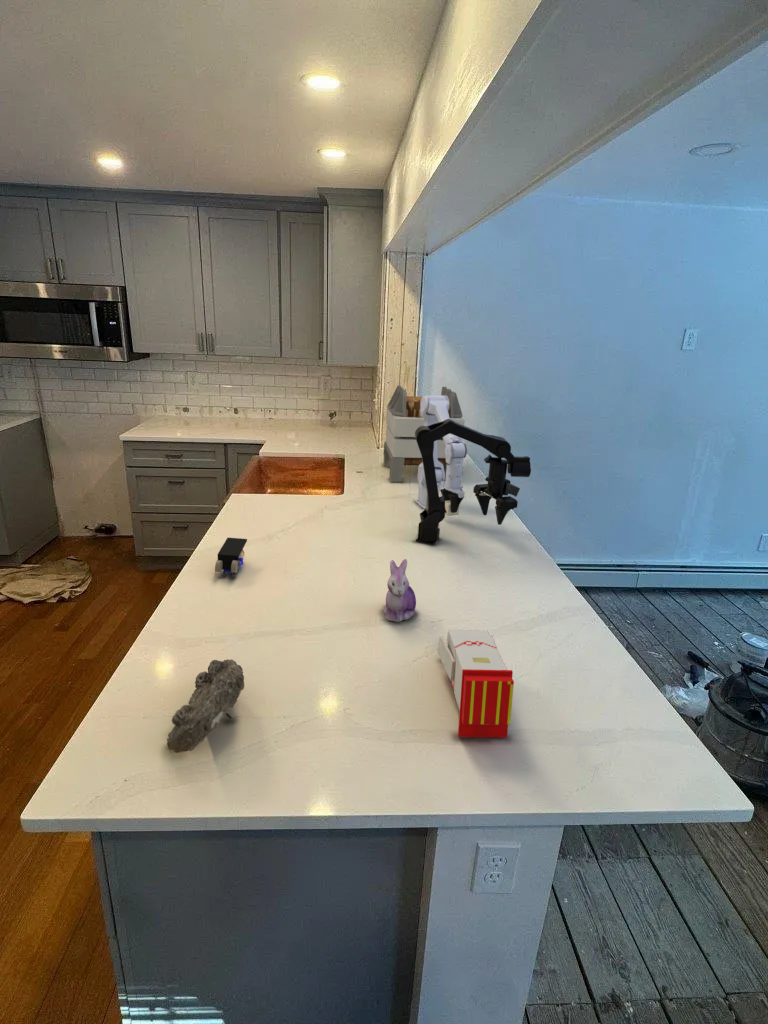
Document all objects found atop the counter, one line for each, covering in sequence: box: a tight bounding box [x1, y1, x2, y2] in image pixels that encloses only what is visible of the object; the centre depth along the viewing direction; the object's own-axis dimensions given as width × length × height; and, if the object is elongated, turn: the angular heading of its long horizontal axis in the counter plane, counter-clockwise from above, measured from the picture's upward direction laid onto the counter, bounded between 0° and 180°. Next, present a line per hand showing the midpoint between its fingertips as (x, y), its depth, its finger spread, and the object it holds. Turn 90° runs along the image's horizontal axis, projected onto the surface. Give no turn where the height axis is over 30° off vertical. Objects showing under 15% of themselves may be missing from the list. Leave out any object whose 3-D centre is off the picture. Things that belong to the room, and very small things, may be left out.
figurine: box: [384, 558, 417, 623], centre depth 145 cm, size 9×10×15 cm
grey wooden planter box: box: [383, 384, 465, 483], centre depth 268 cm, size 34×33×41 cm
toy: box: [437, 628, 515, 738], centre depth 117 cm, size 12×13×30 cm
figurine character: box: [214, 537, 248, 578], centre depth 166 cm, size 7×8×15 cm
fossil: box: [166, 658, 245, 754], centre depth 106 cm, size 22×10×15 cm
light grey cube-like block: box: [445, 500, 460, 517], centre depth 211 cm, size 4×5×4 cm
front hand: (492, 519), depth 193 cm, fingers open, 9 cm apart
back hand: (450, 510), depth 211 cm, fingers closed on light grey cube-like block, 4 cm apart
